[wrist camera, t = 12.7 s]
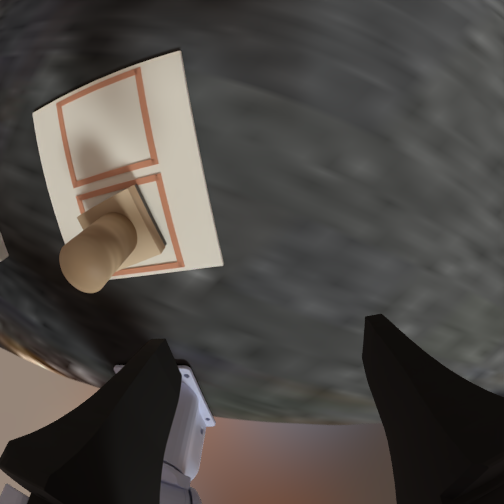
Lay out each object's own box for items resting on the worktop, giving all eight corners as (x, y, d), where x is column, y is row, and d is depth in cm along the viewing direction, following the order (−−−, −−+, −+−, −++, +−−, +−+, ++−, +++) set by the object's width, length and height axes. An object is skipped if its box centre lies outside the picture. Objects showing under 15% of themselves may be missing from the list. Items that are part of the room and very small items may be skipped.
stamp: (167, 243, 19) (134, 292, 14) (117, 264, 20) (78, 312, 15) (137, 182, 17) (89, 212, 12) (87, 210, 18) (37, 245, 13)
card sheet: (223, 263, 20) (223, 266, 20) (82, 281, 21) (79, 283, 21) (181, 51, 14) (179, 50, 14) (34, 112, 16) (31, 113, 15)
